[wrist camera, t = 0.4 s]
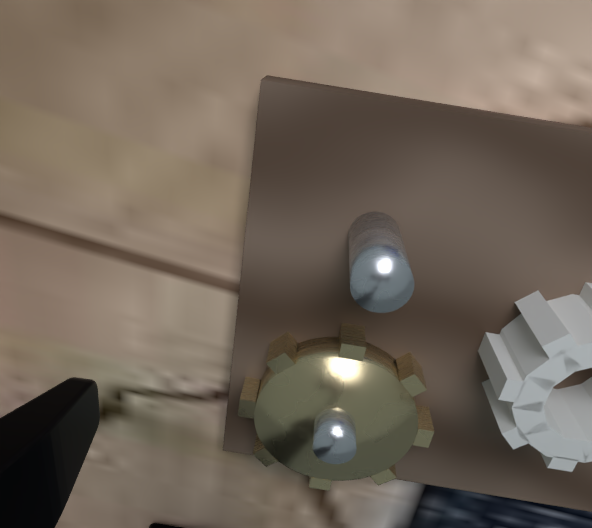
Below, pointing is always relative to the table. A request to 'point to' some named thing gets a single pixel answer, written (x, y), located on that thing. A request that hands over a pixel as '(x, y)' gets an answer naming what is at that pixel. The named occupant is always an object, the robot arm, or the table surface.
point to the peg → (378, 263)
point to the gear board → (416, 257)
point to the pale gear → (543, 377)
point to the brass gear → (336, 408)
